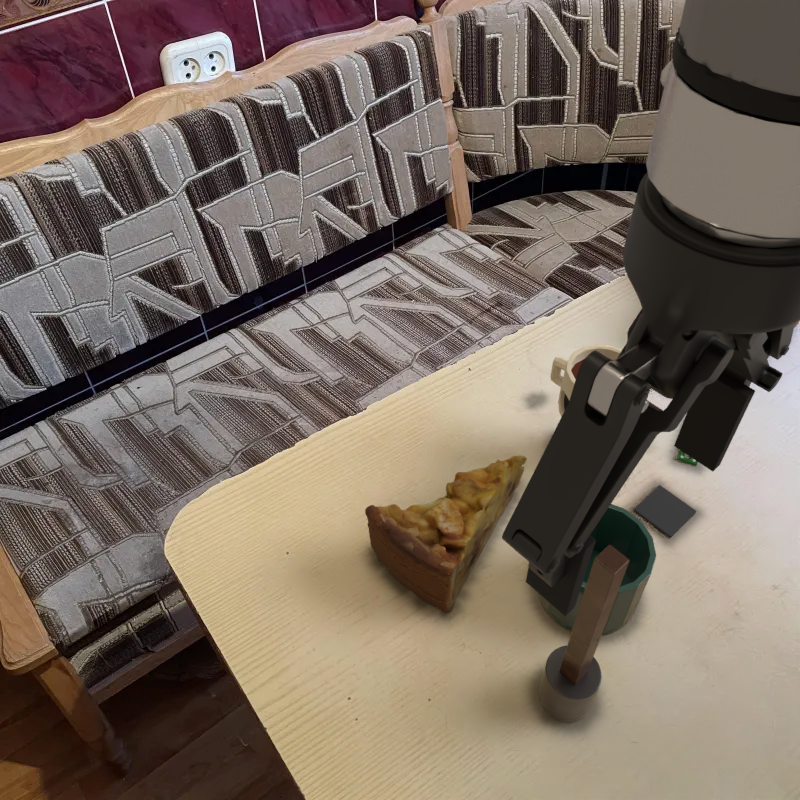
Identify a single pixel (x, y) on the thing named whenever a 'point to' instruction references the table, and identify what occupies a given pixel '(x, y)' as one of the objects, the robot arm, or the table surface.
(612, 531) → the cup
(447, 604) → the pie slice
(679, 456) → the green pcb module
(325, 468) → the table surface
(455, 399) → the table surface
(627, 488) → the table surface
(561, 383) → the character mug
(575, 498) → the robot arm
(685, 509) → the mat
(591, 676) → the brown post with base
